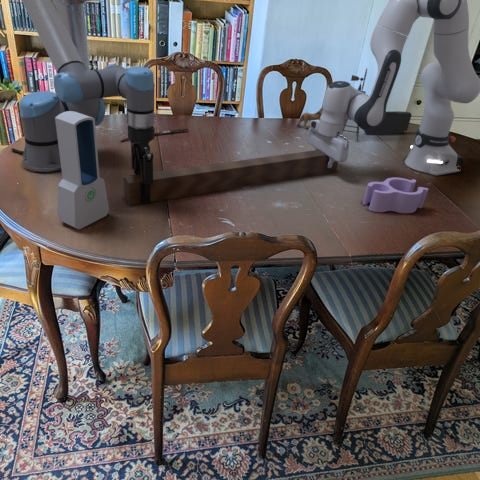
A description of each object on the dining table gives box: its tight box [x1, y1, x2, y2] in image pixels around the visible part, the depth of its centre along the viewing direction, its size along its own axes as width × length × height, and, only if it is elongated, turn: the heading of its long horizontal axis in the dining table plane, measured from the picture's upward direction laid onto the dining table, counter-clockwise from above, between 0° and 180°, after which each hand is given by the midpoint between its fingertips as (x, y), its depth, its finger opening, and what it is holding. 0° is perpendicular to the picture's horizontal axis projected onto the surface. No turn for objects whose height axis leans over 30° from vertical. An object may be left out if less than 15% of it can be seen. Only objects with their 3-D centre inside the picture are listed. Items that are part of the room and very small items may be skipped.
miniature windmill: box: [342, 68, 368, 142], centre depth 203 cm, size 9×8×30 cm
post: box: [123, 149, 339, 206], centre depth 159 cm, size 80×5×8 cm, turn 119°
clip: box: [362, 177, 429, 214], centre depth 156 cm, size 20×12×7 cm, turn 109°
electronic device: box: [55, 111, 110, 231], centre depth 124 cm, size 12×8×30 cm, turn 148°
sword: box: [120, 128, 189, 142], centre depth 190 cm, size 31×3×1 cm, turn 126°
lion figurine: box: [296, 107, 323, 129], centre depth 215 cm, size 15×5×9 cm, turn 110°
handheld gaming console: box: [363, 110, 413, 135], centre depth 217 cm, size 23×3×10 cm, turn 108°
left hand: (142, 197), depth 145 cm, fingers closed on post, 5 cm apart
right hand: (323, 163), depth 175 cm, fingers closed on post, 5 cm apart
